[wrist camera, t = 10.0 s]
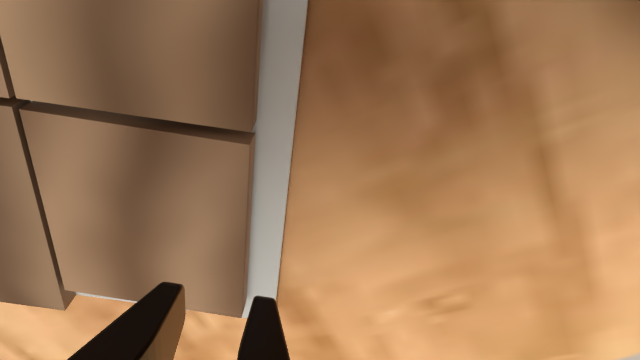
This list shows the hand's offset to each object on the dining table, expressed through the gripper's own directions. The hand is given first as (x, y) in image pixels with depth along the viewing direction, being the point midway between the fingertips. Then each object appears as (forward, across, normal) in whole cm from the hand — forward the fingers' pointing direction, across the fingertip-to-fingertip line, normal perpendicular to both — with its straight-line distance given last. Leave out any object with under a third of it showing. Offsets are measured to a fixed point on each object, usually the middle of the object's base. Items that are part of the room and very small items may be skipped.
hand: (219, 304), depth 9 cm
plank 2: (+12, +6, +8) cm, 16 cm away
